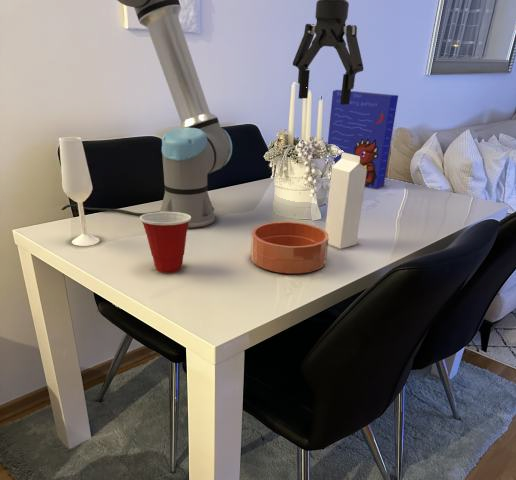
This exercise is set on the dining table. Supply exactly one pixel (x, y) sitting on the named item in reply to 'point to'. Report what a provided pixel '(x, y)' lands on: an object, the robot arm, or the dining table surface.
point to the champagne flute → (76, 181)
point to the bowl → (289, 247)
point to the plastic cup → (166, 238)
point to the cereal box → (364, 130)
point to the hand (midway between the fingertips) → (323, 101)
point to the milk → (345, 201)
